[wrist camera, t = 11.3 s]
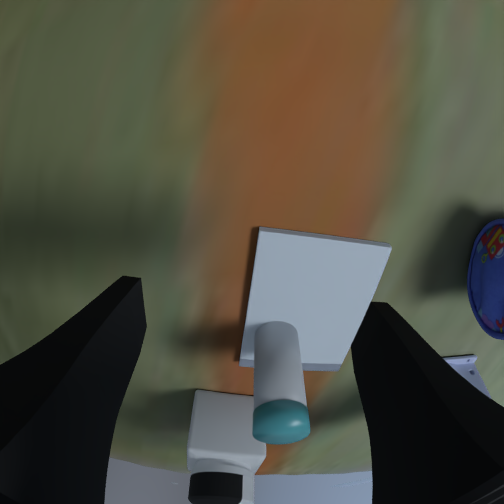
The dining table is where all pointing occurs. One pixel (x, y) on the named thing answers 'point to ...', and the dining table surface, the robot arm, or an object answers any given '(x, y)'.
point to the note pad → (312, 291)
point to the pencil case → (488, 279)
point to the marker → (279, 386)
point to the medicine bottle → (222, 449)
